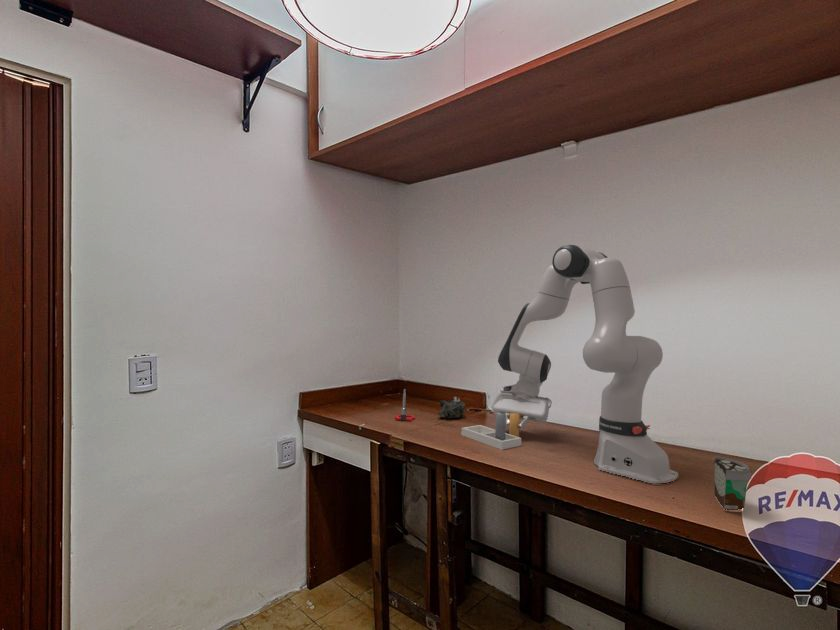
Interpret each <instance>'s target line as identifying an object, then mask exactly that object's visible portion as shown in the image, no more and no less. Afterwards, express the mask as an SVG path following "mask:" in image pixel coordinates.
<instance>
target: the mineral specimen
mask: <svg viewBox="0 0 840 630" xmlns="http://www.w3.org/2000/svg"><path fill="white" fill-rule="evenodd" d="M439 406H440V408H441V409H440V410H438V411H437V412H436V414H437V415H439V417H441V418H442V419H446V420H450V419H456V418H457V419H459V418H462V419H463V418H464V414H465V411H464V410H466V408H467V407H466V404H465V402H464V401H461V400H460V397H459V396H458V397H457V396H454V397H453V400H450V399H449V400H448V401H447V400H444V399H441V400H440V401H439Z"/></svg>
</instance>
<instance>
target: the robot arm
mask: <svg viewBox="0 0 840 630" xmlns="http://www.w3.org/2000/svg"><path fill="white" fill-rule="evenodd" d="M551 261H552V264H550V265H549V266H548V267H547V268H546V270H545V271H544V273H543V276H542V278H541V280H540V283H539V286H538V290H537V293H536V295H535V297H534V299H532V300H531V302H529V303H526V304H525V305H523V307H522V309H521V310H520V312H519V314H518V316H517V318H516V320H515V322H514V324H513V326H512V328H511V331H510V333H509V335H508V337H507V338H506V341H505V343H504V345H503V346H502V348H501V349H500V351H499V354H498V355H497V356H498V357H497V362H498V365H499V366H500V368H501V369H502V370H504V371H508V372H512V373H516V374H519V377H518V381H517V382H516V384H511V385H504V386H501V387H500V392H499V393H497V395H496V396H495V398H494V400H493V402H492V404H491V409H492V412H493V414H494V415H496V414H497V413H502V414H506V427H509V421H510V413H519V414H520V419H522V421H519V423H518V428H519V430H523V429H524V427H525V426H526V425H527V424H528V423H530V421H532V422H533V421H534V422H539V423H546V421H548V417H549V412H550V408H551V407H552V404H553V402H552V399H550V398H549V397H543V396H539V395H540V388H541V386H542V385H543V383H544V382H545V381H547V379H548V376H549V373H550V370H551V367H552V362H551V359H550V358H549V356H548V355H547V354H546V353H542V352H540V351H536V350H533V349H529V348H526V347H523V346H520V345H519V341H520V339H521V337H522V335H523V333H524V331H525V329H526V327H527V326H528V325H529V324H530V323H532V322H538V321H539V322H541V321H549V320H554V319H557V318H559V317H561V316H562V315H563V314H564V313H565V311H566V309H567V307H568V305H569V301H570V299H571V295H572V294H571V293H572V290H573V288H574V287H575V285H576V284H578V283H580V284H582V285H586V284H590V288H591V296H592V300H593V301H592V302H593V307H594V315H595V316H594V317H595V322H594V328H593V331H592V334H591V337H590V338H589V339H588V340H586V341H585V344H584V346H583V348H582V359H583V362H584V363H585V365H586V366H587V368H589V369H590V370H592V371H597V372H600V373H601V372H602V373H604V374H605V373H611V374H612V373H614V375H613V378H612V379H611V381H610V382H609V383H608V384H607V385H606V386H605V387H604V388H603V389H602V391H601V401H600V402H601V406H600V410H601V411H600V416H599V419H598V421H599V422H598V432H599V437H598V444H597V448H596V449H597V450H596V454H595V457H594V460H593V463H594V464H595V466H597V469H598V470H599V471H600V470H602V471H601V472H603V471H606V472H605V473H607V472H609V473H608V474H611V473H613V474H612V475H615V474H617V475H616V476H618V475H621V476H620V477H622V476H626V477H629V478H628V479H630V478H632V479H631V480H634V479H636V480H635V481H637V480H641V481H644V482H643V483H645V482H649V483H665V482H670V481H672V480H674V479H676V478H677V477H678V478H679V473H678V471H676V470H672V469H671V467H670V460H669V456H668V454H667V452H666V451H665V450H663V449H662V448H661V447H660V446H659V444H657V443H656V442H655V441H654V440H653V439H652V438H651V437H650V436H649V435H648V432H647V431H648V430H650V429H651V428H650V426H651V425H650V424H648V425H645V423H644V421H643V420H642V412H643V410H642V409H643V398H644V392H645V389H646V385H647V383H648V381H649V379H650V376H651V374H652V373H653V372H654V370H655V369H657V368H658V367H659V366H660V364H662V361H663V356H664V355H663V348H662V346H661V345H660V343H659V342H658V341H656V340H655V339H652V338H649V337H646V336H643V335H627V331H626V330H627V324H628V323H629V321H631V319H632V318H633V317H634V316H635V311H636V310H635V306H634V305H635V304H634V299H633V294H632V291H631V286H630V281H629V277H628V276H627V273H626V270H625V268H624V265H623V263H622V262H621V260H619V259H618V258H616V257H615V258H614V257H608V256H607V255H606V254H604V253H602V252H599V251H596V250H594V249H591V248H588V247H586V246H580V245H579V246H578V245H575V244H567V245H563V246H560V247H559V248H558V249H557V250H556V251H555V252H554V254H553V256H552V260H551ZM626 477H625V478H626ZM641 481H640V482H641ZM649 483H648V484H649Z"/></svg>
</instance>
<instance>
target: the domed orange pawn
mask: <svg viewBox="0 0 840 630" xmlns="http://www.w3.org/2000/svg"><path fill="white" fill-rule="evenodd" d="M520 419H521V418H520V414H519V413H510V419H509V420H510V421H509V429H508V434H510V435H513V436H516V437H519V438H520V429H519V428H518V423H519V422H520Z"/></svg>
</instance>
